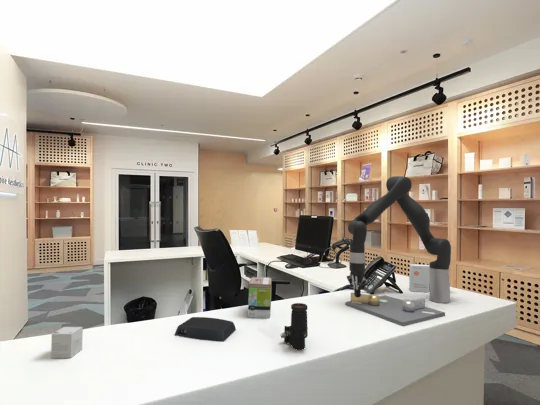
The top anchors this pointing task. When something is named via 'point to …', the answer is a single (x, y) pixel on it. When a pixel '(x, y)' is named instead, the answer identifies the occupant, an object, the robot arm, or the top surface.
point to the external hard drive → (206, 329)
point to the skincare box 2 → (419, 278)
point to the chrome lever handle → (413, 304)
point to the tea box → (259, 297)
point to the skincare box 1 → (66, 342)
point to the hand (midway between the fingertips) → (357, 296)
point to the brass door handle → (366, 299)
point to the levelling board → (396, 311)
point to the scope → (297, 327)
